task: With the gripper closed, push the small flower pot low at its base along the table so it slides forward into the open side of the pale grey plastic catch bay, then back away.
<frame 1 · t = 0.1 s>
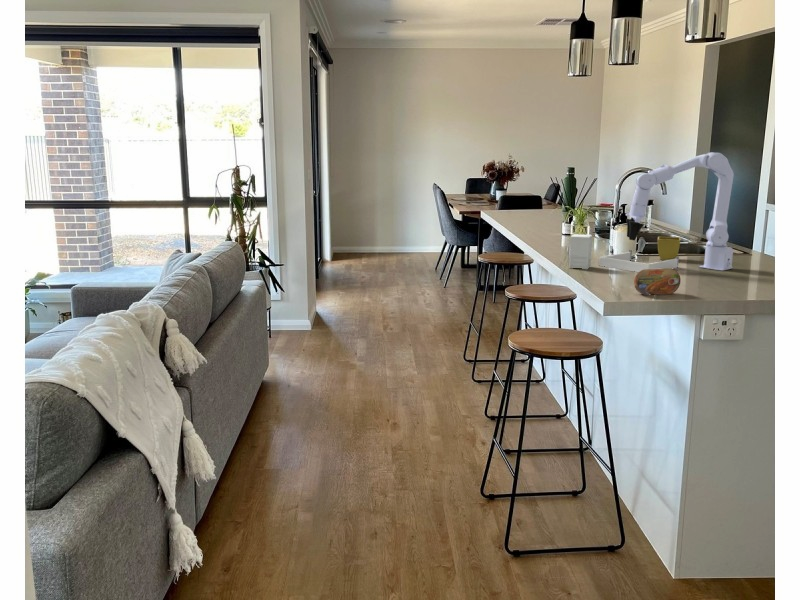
hand: (630, 238, 273), 11 cm above the table, tool pointing down, fingers open, 7 cm apart
tin: (655, 294, 224), on the table
catch bay: (638, 266, 272), on the table
flower pot: (667, 260, 289), on the table
supplement box: (579, 268, 270), on the table
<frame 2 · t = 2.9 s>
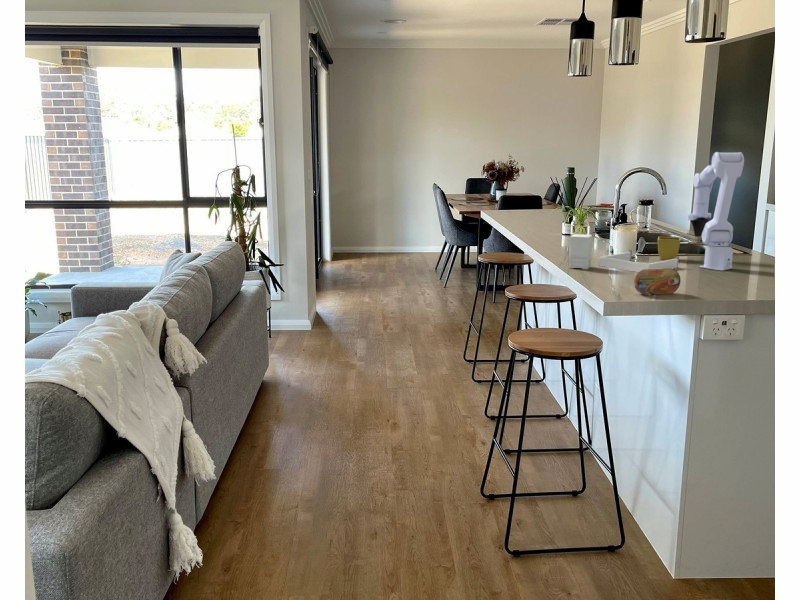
hand: (697, 236, 288), 10 cm above the table, tool pointing down, fingers closed
nothing on the table moved.
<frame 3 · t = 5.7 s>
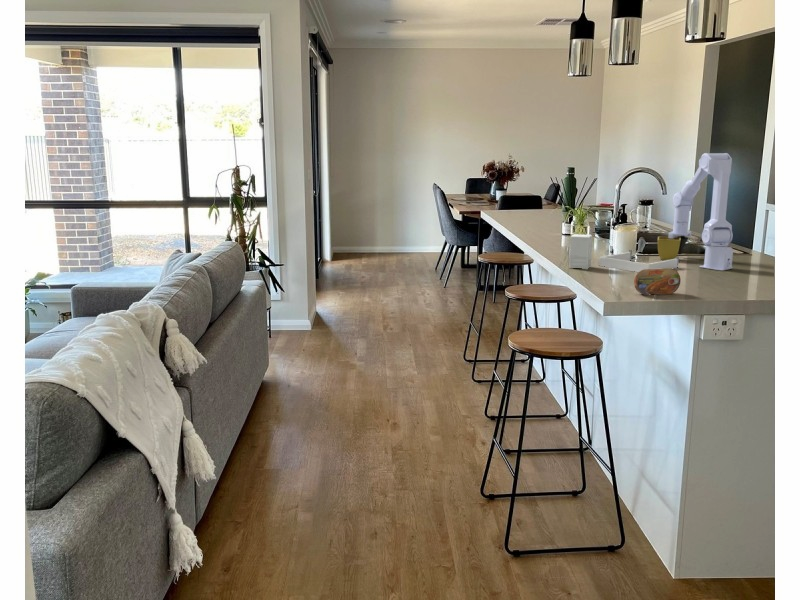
hand: (678, 254, 293), 1 cm above the table, tool pointing down, fingers closed
flower pot: (667, 260, 289), on the table, touching gripper
everything else where it was.
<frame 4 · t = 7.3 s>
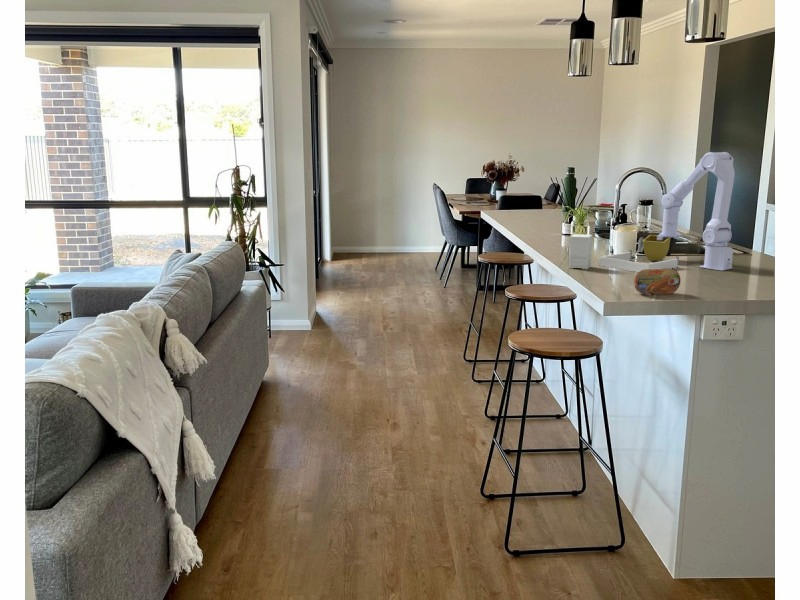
hand: (667, 256, 288), 1 cm above the table, tool pointing down, fingers closed
flower pot: (656, 259, 286), on the table, touching gripper
everything else where it was.
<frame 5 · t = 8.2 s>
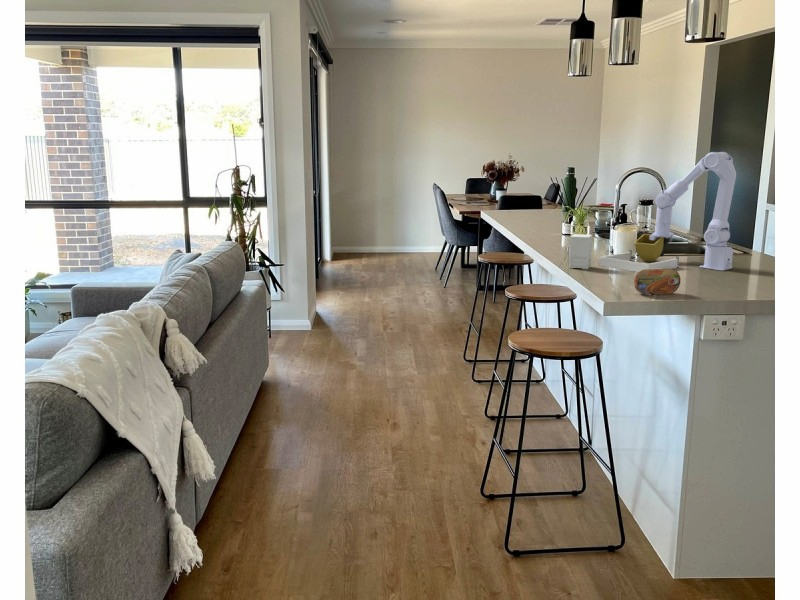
hand: (659, 256, 285), 2 cm above the table, tool pointing down, fingers closed, pressing on flower pot
flower pot: (650, 259, 285), point 1 cm above the table, touching gripper
everything else where it was.
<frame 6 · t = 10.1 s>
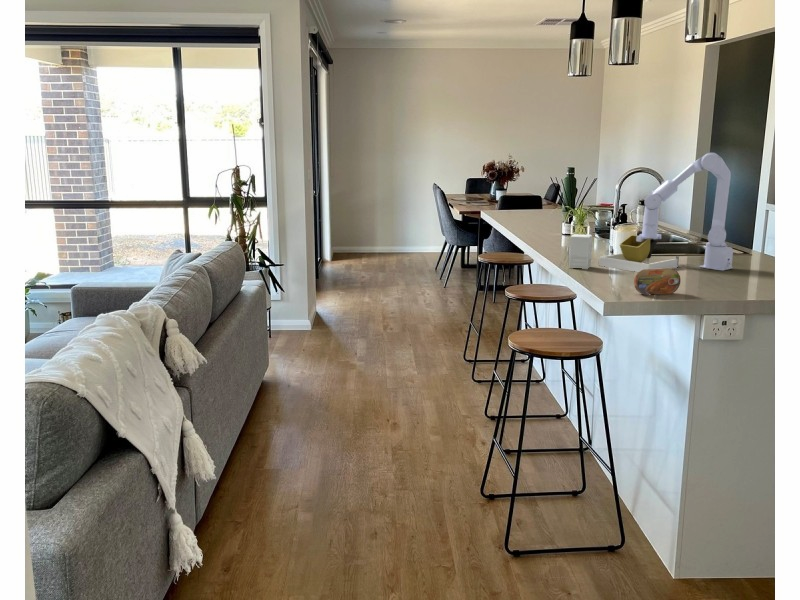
hand: (646, 258, 280), 2 cm above the table, tool pointing down, fingers closed, pressing on flower pot
flower pot: (637, 260, 280), point 1 cm above the table, touching gripper
everything else where it was.
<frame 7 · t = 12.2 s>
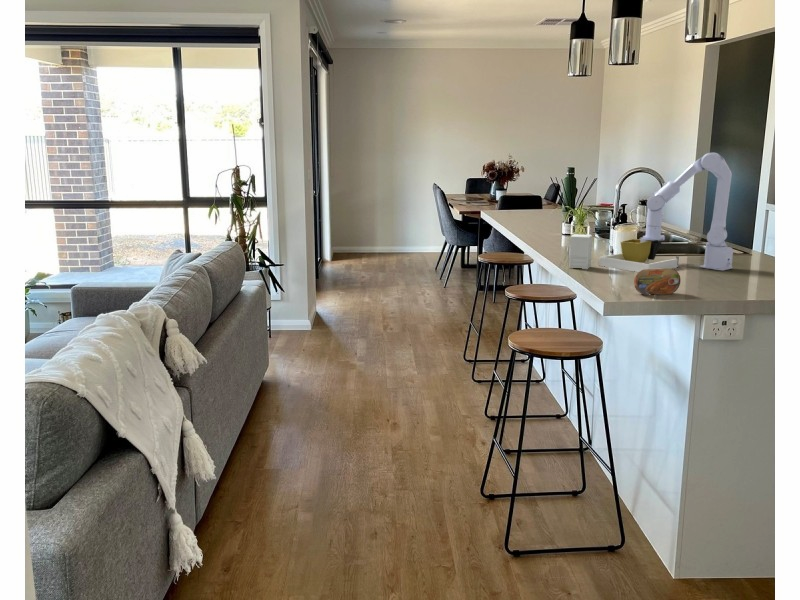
hand: (651, 259, 281), 1 cm above the table, tool pointing down, fingers closed
flower pot: (635, 263, 279), on the table, touching gripper
everything else where it was.
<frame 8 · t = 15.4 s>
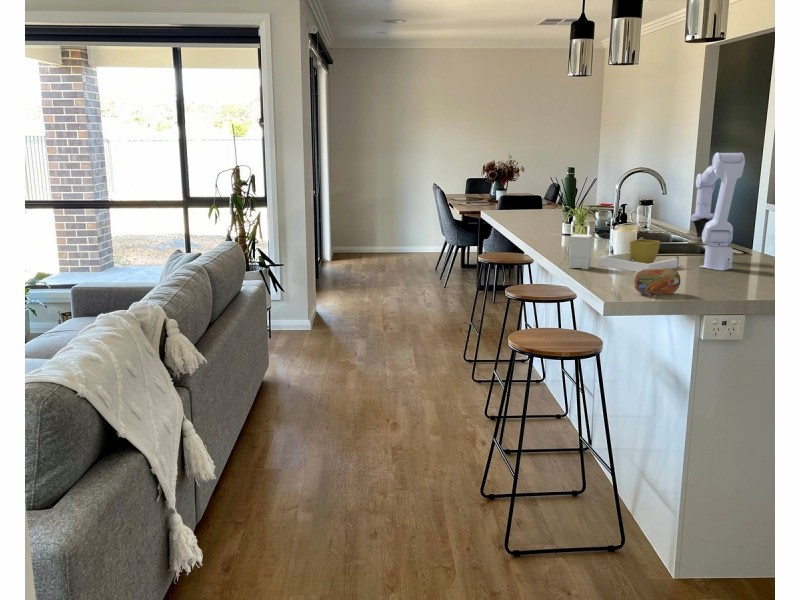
hand: (700, 237, 286), 9 cm above the table, tool pointing down, fingers closed
flower pot: (643, 263, 280), on the table
everything else where it was.
at the end: flower pot inside the target area (10.0 cm from its centre), on the table; flower pot moved 15.3 cm from its start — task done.
